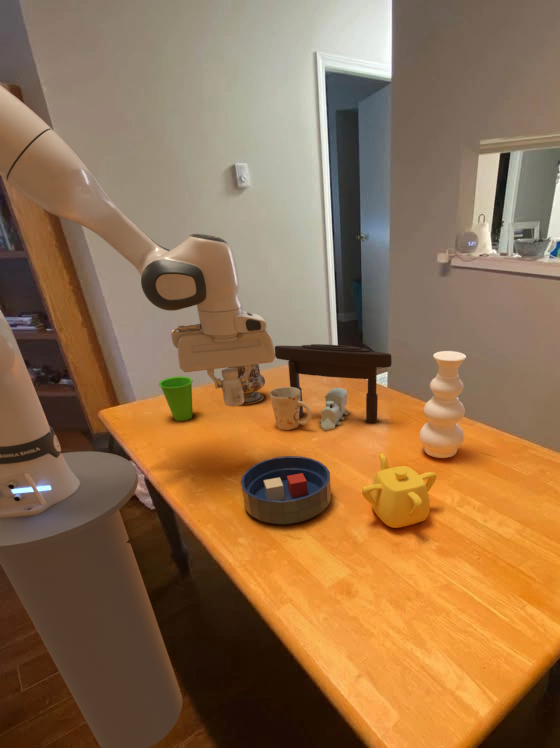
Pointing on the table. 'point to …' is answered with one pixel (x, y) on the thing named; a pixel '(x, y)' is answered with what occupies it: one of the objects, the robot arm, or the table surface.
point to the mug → (288, 407)
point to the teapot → (399, 494)
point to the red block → (297, 485)
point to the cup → (178, 396)
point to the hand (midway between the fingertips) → (232, 385)
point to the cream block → (274, 489)
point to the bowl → (286, 490)
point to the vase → (444, 408)
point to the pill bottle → (232, 387)
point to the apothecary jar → (251, 384)
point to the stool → (335, 374)
